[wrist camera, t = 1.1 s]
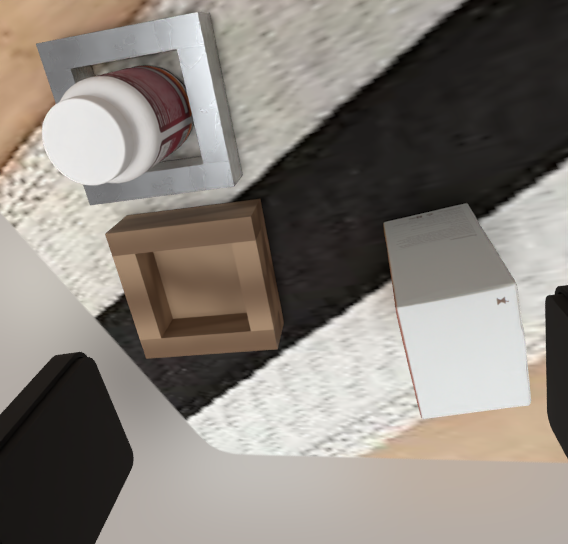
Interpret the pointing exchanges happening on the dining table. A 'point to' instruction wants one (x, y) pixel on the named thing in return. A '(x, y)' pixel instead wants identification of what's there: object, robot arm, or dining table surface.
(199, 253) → the tray
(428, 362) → the small box
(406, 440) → the dining table surface
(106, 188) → the socket block
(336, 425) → the dining table surface
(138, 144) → the pill bottle
